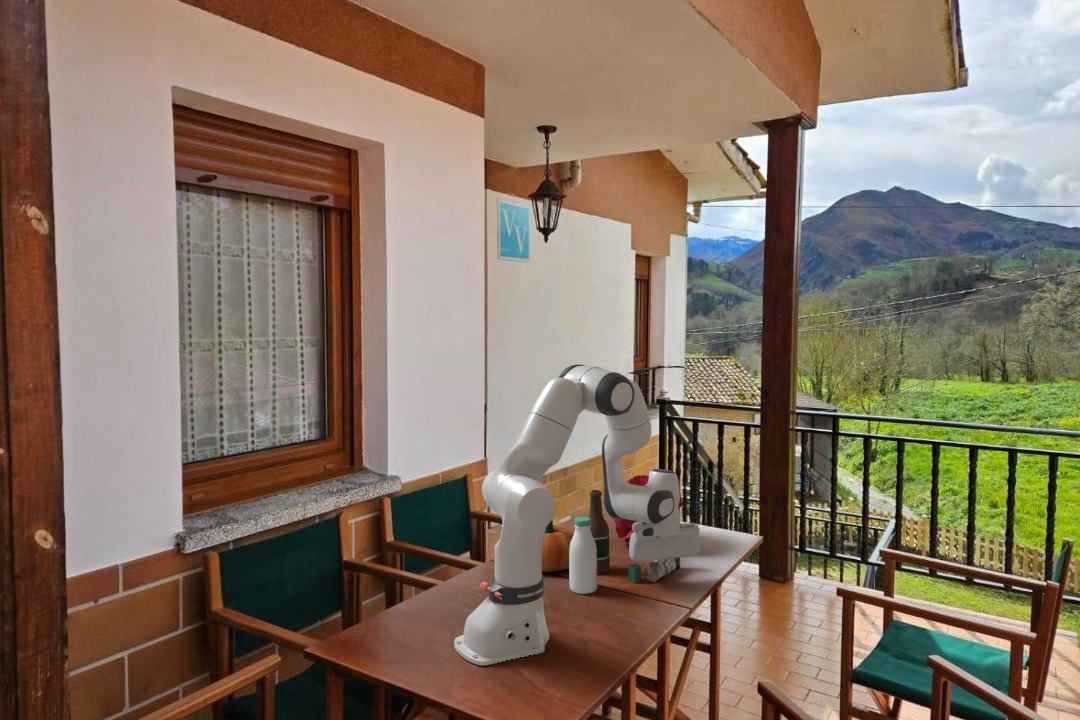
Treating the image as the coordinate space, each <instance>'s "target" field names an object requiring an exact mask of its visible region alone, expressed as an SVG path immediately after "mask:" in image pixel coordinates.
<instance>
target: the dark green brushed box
mask: <svg viewBox="0 0 1080 720" xmlns="http://www.w3.org/2000/svg"><path fill="white" fill-rule="evenodd" d="M644 573H645V567H644V566H641V565H639V564H638V563H632V564H629V565H628V581H629V580H630V581H629V582H631V581H632V582H631V583H633V582H634V583H633V584H637V583H640V582H642V580H641V577H642V574H644ZM639 581H640V582H639ZM636 582H637V583H636Z"/></svg>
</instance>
